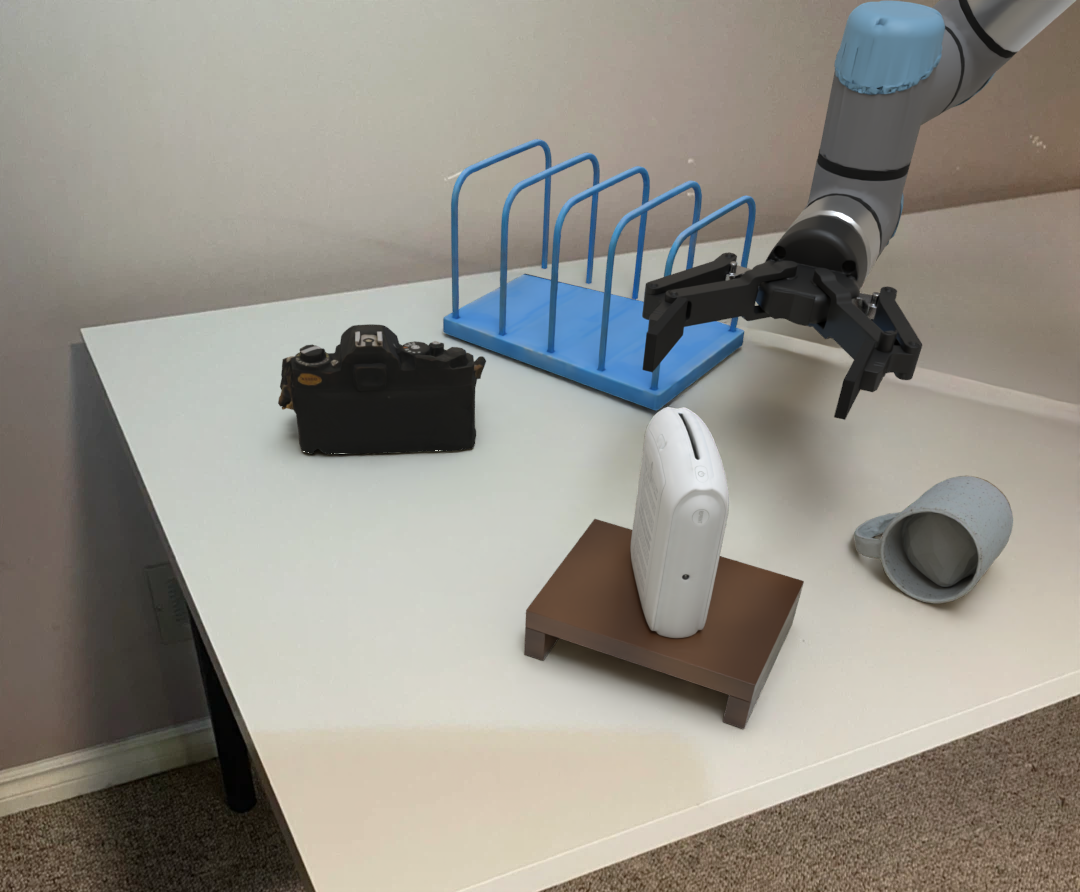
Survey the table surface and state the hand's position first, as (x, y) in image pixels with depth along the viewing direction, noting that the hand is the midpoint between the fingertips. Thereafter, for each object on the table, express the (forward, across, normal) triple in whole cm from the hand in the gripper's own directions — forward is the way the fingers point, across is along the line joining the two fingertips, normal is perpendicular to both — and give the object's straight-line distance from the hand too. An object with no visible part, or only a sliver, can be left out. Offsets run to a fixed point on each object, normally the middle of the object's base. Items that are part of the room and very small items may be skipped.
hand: (744, 376), depth 72 cm
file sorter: (-30, +22, -16) cm, 40 cm away
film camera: (-5, +32, -16) cm, 36 cm away
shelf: (+10, 0, -16) cm, 19 cm away
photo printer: (+10, +1, -12) cm, 15 cm away
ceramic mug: (-7, -15, -16) cm, 23 cm away
